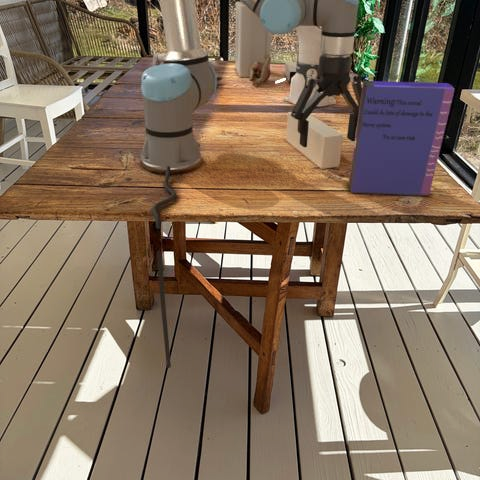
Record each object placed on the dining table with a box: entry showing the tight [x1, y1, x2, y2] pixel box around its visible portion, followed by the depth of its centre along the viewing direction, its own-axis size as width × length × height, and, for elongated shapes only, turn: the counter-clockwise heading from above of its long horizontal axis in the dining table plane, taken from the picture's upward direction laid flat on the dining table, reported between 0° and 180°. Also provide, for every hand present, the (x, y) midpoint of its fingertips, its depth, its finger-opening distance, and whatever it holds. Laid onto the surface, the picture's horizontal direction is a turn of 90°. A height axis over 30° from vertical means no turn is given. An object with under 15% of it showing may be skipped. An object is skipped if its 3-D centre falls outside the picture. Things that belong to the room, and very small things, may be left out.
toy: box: [152, 51, 219, 68], centre depth 222 cm, size 24×25×7 cm
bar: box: [285, 111, 344, 170], centre depth 129 cm, size 22×5×8 cm, turn 19°
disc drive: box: [284, 61, 297, 85], centre depth 207 cm, size 18×22×5 cm
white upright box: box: [234, 1, 273, 78], centre depth 210 cm, size 19×15×28 cm
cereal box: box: [348, 80, 455, 197], centre depth 104 cm, size 17×5×24 cm, turn 86°
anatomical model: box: [249, 55, 272, 87], centre depth 197 cm, size 13×9×15 cm
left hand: (327, 142), depth 122 cm, fingers open, 13 cm apart
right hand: (312, 25), depth 136 cm, fingers open, 8 cm apart
